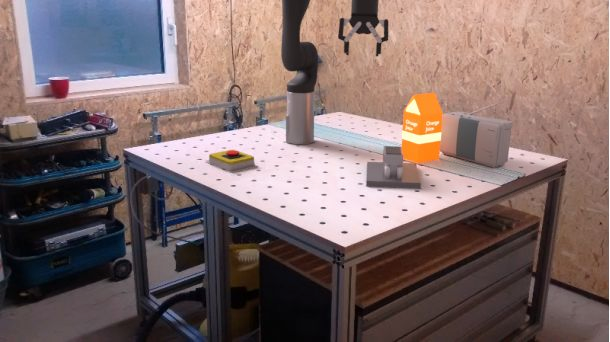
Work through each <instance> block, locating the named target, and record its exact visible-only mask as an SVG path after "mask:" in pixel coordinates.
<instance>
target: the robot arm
mask: <svg viewBox="0 0 610 342" xmlns="http://www.w3.org/2000/svg"><path fill="white" fill-rule="evenodd" d="M310 2H311V0H281V6H282V7H281V9H282V11H281V12H282V15H281V16H282V17H281V18H282V21H281V22H282V29H281V46H280V47H281V49H280V50H281V51H280V54H281V61H282V62H281V63H282V65H283V66H284V69H285V70H286V71H288V72H291V73H293V72H296V73H295V76H294V77H293V78H291V80H289V81H287V84H286V114H285V143H287V144H292V145H293V144H294V145H309V144H312V143H314V142H315V87H316V85H317V81H318V70H319V69H318V68H319V55H318V49H317V47H316V45H315V44H314V43H313V42H311V41H301V26H302V22H303V20H304V17H305V15H306V13H307V10H308V8H309V5H310ZM378 14H379V0H351V10H350V18H344V17H341V18H340V19H339V25H338V35H337V38H338V40H341V41H343V44H344V45H343V54H345V56H349V54H350V41H349V40H350V39H352V37H353V36H354V35H355V33H356V34H357V35H362V34H363V35H364V34H365V35H370V34H371V35H372V36H373V37H374V39H375V41H376V44H375V45H376V48H375V49H376V50H375V57H379V55H381V53H382V44H383V43H384V42H388V40H389V20H388V19H387V18H385V19H379V17H378V16H379V15H378ZM348 23H349V25H350V26H351V28H352V29H351V30H350V31H349V32H348V34H347V35H346V36H345V35H344V28H345V27H347V24H348ZM379 24H380V26H381V27H382V28H383V36H380V34H379V33H378V32H377V30H376V28H377V27H378V25H379Z"/></svg>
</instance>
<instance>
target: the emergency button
mask: <svg viewBox="0 0 610 342" xmlns="http://www.w3.org/2000/svg"><path fill="white" fill-rule="evenodd" d="M208 157H209V159H208V160H207V159H206V160H205V161H204V162H205V163H206V164H209V165H212V166H215V167H216V168H219V169H222V170H225V171H226V172H229V173H237V172H242V171H245V170H246V171H247V170H251V169H255V168H258V165H257V164H255V157H254V156H253V155H251V154H248V153H245V152H242V151H239V150H236V149H228V150H222V151H218V152H213V153H209V155H208Z"/></svg>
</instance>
